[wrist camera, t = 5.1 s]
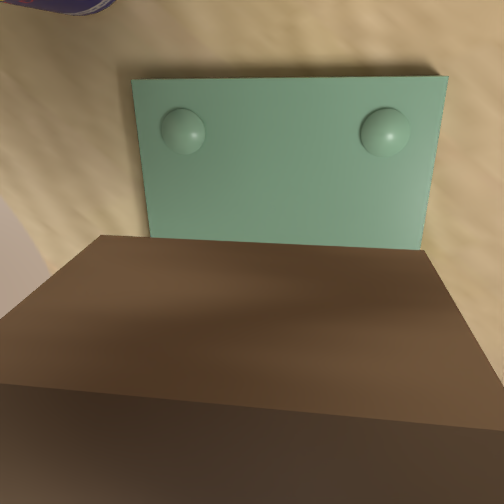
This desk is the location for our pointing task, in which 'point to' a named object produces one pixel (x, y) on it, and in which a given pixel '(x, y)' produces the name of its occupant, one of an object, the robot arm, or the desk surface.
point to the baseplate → (290, 158)
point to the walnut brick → (246, 380)
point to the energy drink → (65, 5)
